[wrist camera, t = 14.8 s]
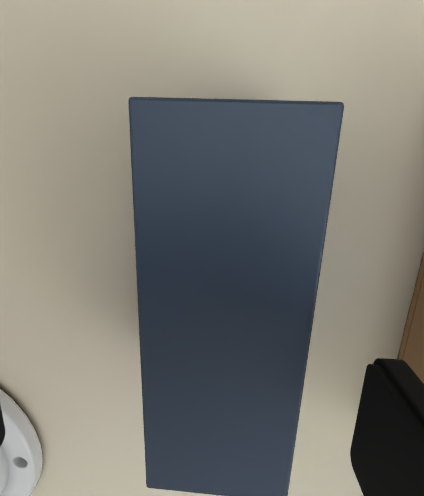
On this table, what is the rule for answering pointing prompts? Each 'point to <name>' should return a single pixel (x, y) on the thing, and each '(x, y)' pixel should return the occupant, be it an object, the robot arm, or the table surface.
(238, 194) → the plastic case
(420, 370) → the storage box
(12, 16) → the table surface
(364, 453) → the robot arm
